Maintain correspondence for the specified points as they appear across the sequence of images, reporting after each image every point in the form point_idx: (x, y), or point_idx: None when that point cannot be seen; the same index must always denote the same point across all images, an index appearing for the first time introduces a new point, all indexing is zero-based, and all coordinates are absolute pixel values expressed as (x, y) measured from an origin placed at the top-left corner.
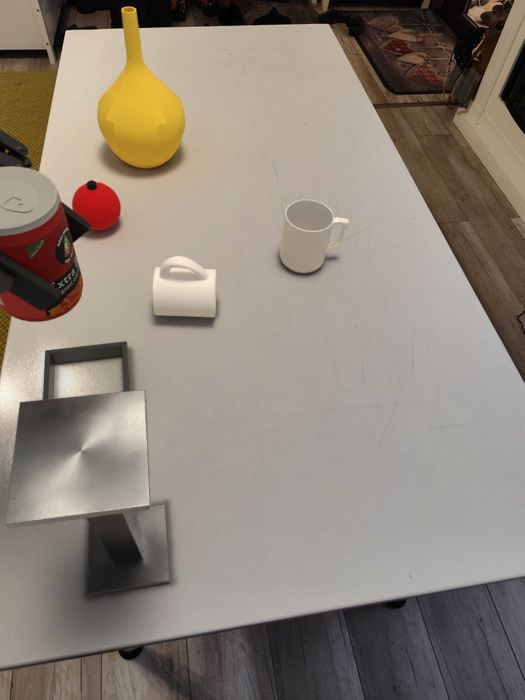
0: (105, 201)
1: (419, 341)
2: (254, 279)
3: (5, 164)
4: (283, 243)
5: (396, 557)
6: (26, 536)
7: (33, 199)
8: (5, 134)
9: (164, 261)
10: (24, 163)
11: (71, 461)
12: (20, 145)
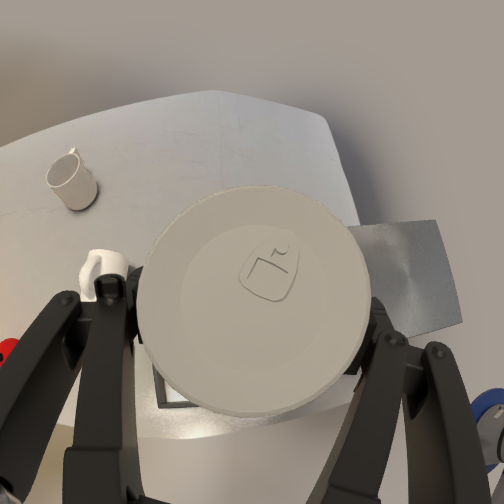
0: (12, 348)
1: (172, 128)
2: (93, 232)
3: (122, 319)
4: (73, 199)
5: (324, 164)
6: (320, 397)
7: (250, 236)
8: (39, 320)
9: (82, 289)
10: (111, 285)
11: (417, 282)
12: (60, 297)
